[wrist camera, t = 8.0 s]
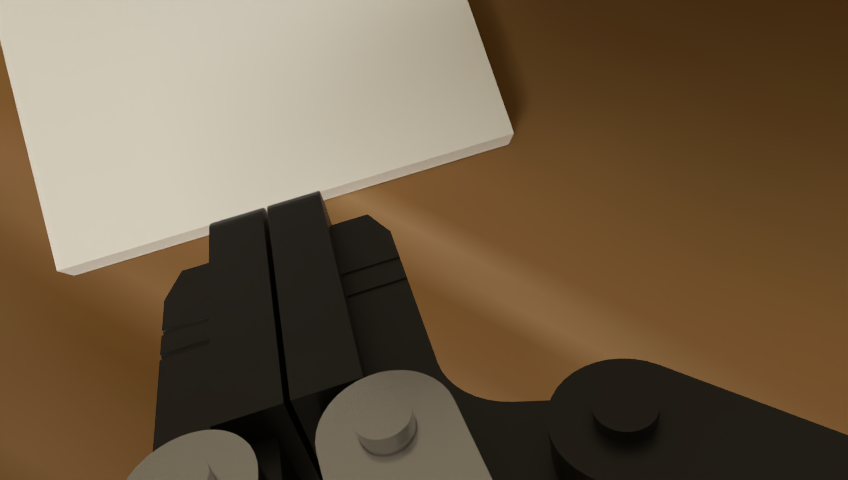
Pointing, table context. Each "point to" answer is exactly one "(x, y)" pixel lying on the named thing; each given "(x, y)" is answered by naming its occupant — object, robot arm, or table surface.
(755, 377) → the table surface
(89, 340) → the table surface
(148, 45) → the base board
